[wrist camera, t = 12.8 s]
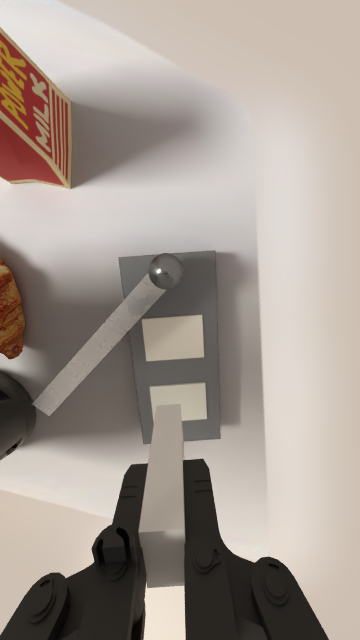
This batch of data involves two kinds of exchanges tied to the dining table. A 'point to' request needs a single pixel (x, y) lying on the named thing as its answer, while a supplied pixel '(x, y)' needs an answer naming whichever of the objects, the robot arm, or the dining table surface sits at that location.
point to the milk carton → (32, 122)
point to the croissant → (10, 315)
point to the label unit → (177, 346)
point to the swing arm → (112, 330)
